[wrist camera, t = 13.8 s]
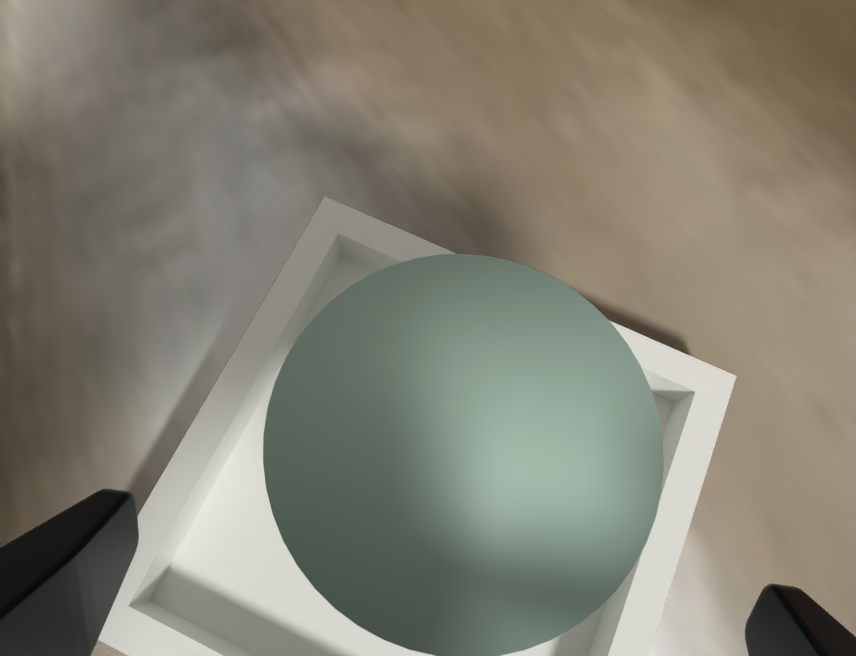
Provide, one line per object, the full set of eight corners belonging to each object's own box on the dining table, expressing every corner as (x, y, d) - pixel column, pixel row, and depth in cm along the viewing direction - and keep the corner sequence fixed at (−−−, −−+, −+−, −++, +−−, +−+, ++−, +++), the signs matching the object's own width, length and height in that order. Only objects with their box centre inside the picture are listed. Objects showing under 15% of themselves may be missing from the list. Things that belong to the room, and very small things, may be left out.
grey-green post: (409, 628, 19) (427, 762, 7) (308, 480, 20) (185, 396, 8) (547, 514, 20) (745, 476, 8) (442, 381, 21) (494, 189, 10)
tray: (555, 853, 18) (574, 891, 16) (105, 618, 19) (73, 626, 17) (706, 390, 22) (736, 376, 20) (330, 224, 23) (324, 195, 21)
